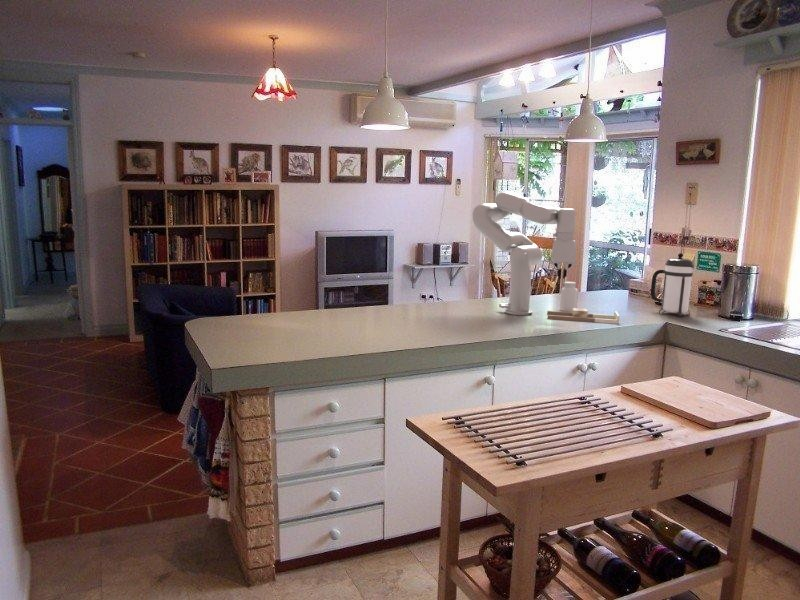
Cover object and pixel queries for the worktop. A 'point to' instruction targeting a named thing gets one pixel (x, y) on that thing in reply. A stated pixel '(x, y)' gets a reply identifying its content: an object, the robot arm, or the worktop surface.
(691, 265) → the coffee press
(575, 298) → the pill bottle
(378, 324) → the worktop surface
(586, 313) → the block
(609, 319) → the lane
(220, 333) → the worktop surface
